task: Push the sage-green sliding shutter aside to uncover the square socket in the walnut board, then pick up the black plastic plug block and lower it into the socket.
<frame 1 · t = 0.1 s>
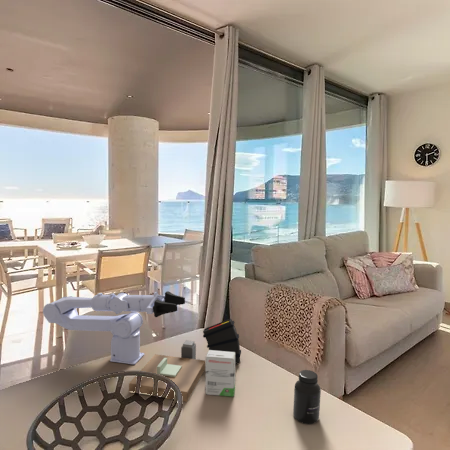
hand: (180, 304, 118), 22 cm above the table, tool horizontal, fingers open, 7 cm apart
plug: (188, 361, 122), on the table
ink box: (220, 392, 105), on the table
supplement bottle: (306, 417, 94), on the table
shutter: (169, 367, 110), point 4 cm above the table, slide at 0.0 cm
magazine: (221, 360, 124), on the table
socket board: (169, 380, 110), on the table
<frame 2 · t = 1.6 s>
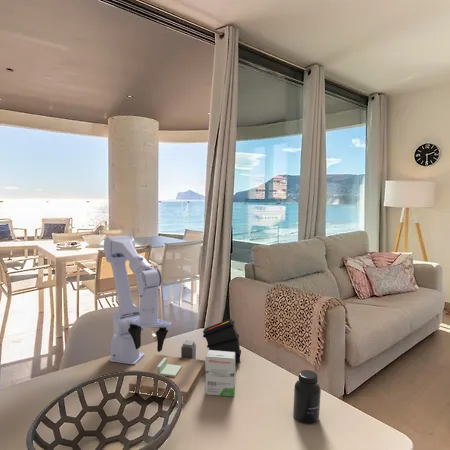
hand: (148, 349, 111), 9 cm above the table, tool pointing down, fingers open, 7 cm apart
nothing on the table moved.
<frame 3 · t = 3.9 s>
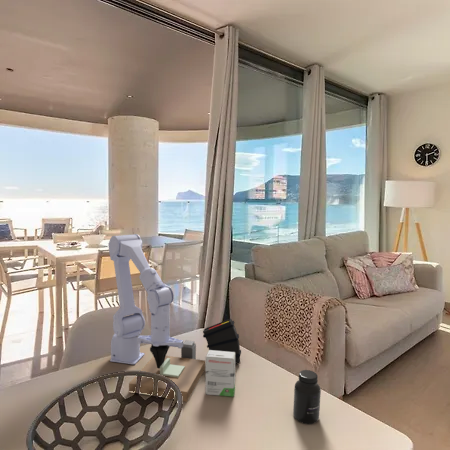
hand: (160, 366, 110), 4 cm above the table, tool pointing down, fingers closed
shutter: (172, 367, 110), point 4 cm above the table, slide at 1.0 cm, touching gripper
everything else where it was.
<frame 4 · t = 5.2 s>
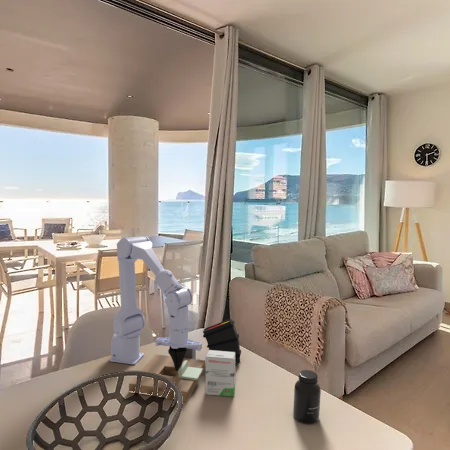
hand: (178, 369, 109), 4 cm above the table, tool pointing down, fingers closed
shutter: (190, 369, 108), point 4 cm above the table, slide at 7.0 cm, touching gripper
everything else where it was.
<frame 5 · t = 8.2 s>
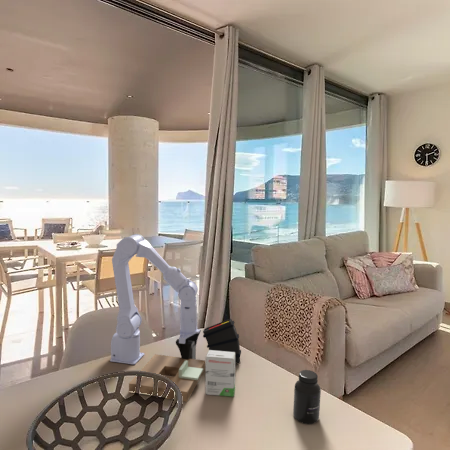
hand: (188, 355, 122), 2 cm above the table, tool pointing down, fingers open, 7 cm apart
shutter: (191, 369, 108), point 4 cm above the table, slide at 7.1 cm
everything else where it was.
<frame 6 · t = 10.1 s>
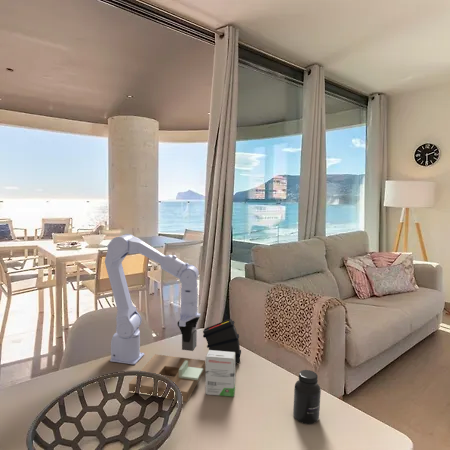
hand: (188, 338, 122), 8 cm above the table, tool pointing down, fingers closed on plug, 4 cm apart
plug: (189, 347, 122), point 5 cm above the table, touching gripper
everything else where it was.
when the fingers open (4 cm above the table, at t = 12.8 s): plug stays where it is, resting in socket board.
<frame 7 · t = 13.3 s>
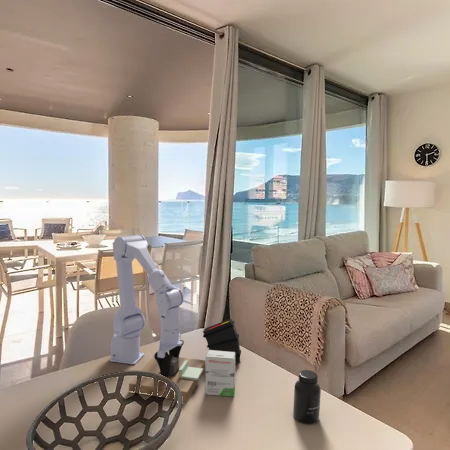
hand: (169, 369, 110), 4 cm above the table, tool pointing down, fingers open, 7 cm apart
plug: (170, 380, 110), resting in socket board
everything else where it was.
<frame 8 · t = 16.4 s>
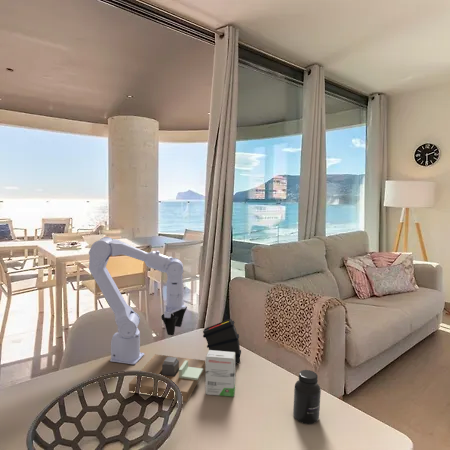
hand: (174, 330, 125), 10 cm above the table, tool pointing down, fingers open, 7 cm apart
nothing on the table moved.
at the end: plug 0.4 cm off-centre on the socket board, point 0.0 cm above the socket board's base; shutter slide at 7.1 cm; the gripper is holding nothing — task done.
